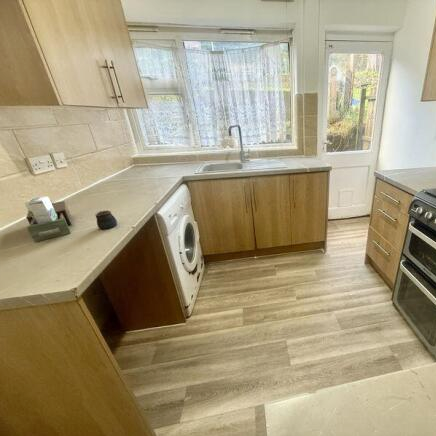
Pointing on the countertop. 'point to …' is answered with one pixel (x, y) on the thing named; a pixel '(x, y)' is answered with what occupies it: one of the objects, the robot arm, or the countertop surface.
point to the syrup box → (41, 210)
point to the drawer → (49, 228)
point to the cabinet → (58, 208)
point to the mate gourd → (105, 220)
